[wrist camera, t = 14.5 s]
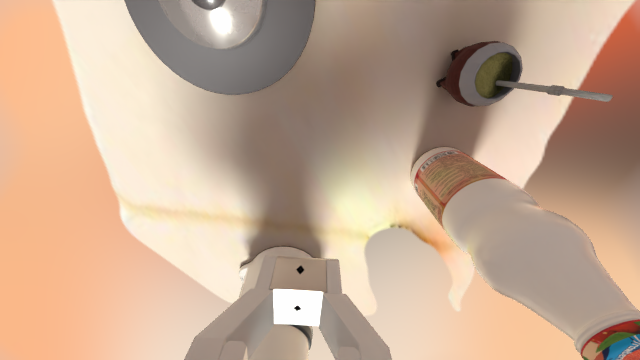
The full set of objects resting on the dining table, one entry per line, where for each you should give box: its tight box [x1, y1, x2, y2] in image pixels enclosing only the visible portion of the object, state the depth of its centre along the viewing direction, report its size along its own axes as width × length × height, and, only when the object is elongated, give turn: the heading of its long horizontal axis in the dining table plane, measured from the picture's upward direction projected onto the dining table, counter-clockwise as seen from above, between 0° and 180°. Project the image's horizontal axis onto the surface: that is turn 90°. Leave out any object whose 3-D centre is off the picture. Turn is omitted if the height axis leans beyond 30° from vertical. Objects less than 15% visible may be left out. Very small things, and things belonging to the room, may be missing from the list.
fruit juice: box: [411, 147, 640, 360], centre depth 27 cm, size 9×9×28 cm
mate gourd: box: [437, 41, 612, 106], centre depth 26 cm, size 8×8×15 cm
